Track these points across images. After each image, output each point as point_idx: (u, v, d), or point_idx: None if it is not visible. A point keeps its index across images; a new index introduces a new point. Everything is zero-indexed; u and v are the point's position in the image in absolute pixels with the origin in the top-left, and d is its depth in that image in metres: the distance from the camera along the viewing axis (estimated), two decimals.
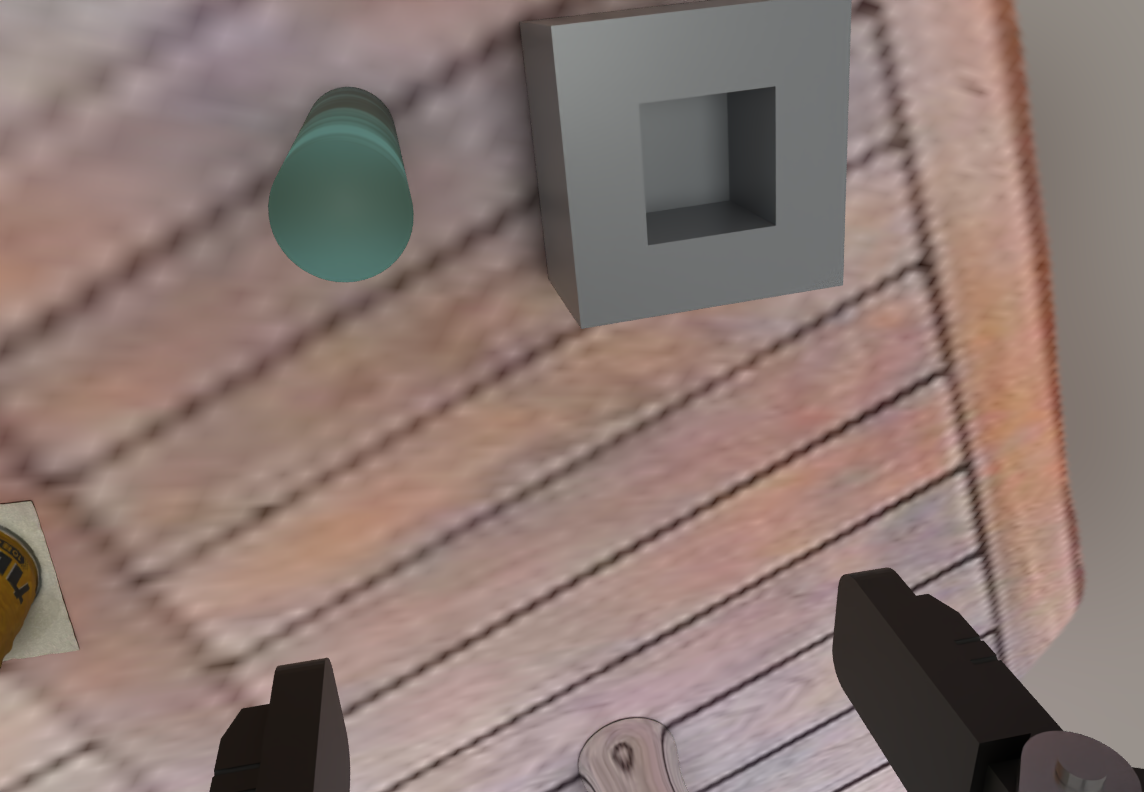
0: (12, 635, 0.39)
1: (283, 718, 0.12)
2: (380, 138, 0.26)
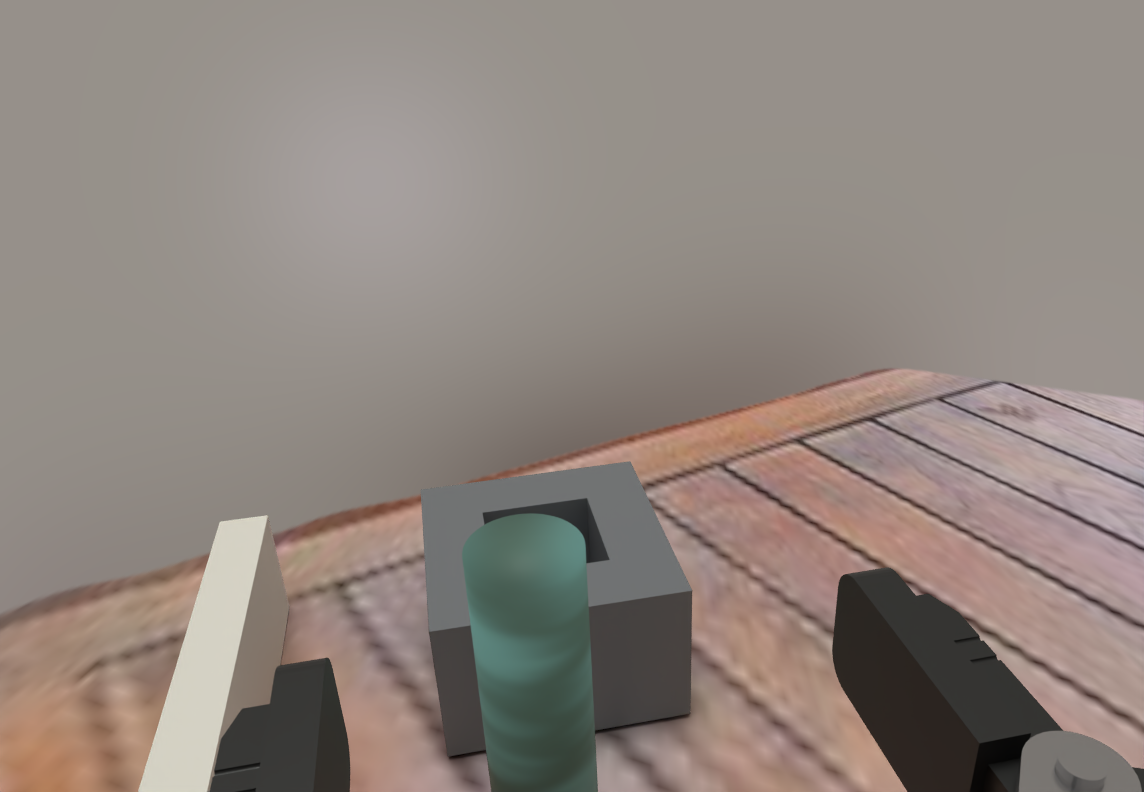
0: None
1: (283, 718, 0.12)
2: None
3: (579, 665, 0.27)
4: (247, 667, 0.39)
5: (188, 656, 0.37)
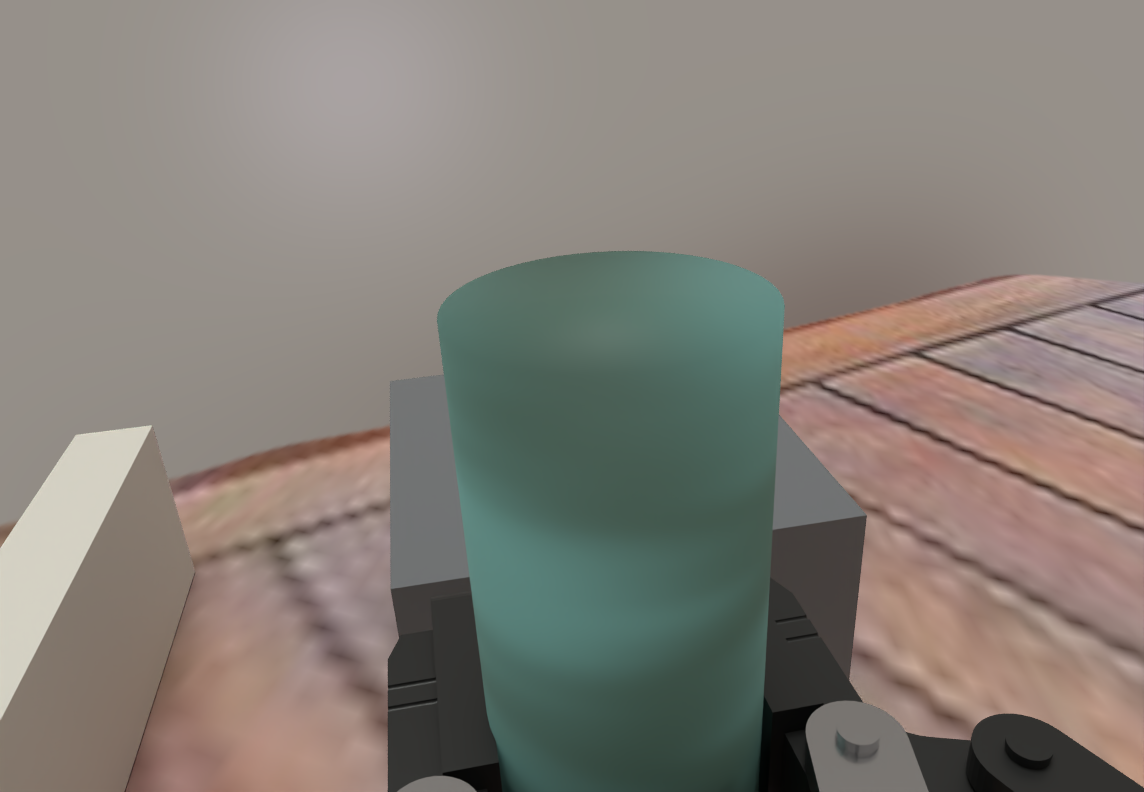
0: None
1: (448, 639, 0.13)
2: None
3: (754, 628, 0.10)
4: (75, 659, 0.22)
5: None
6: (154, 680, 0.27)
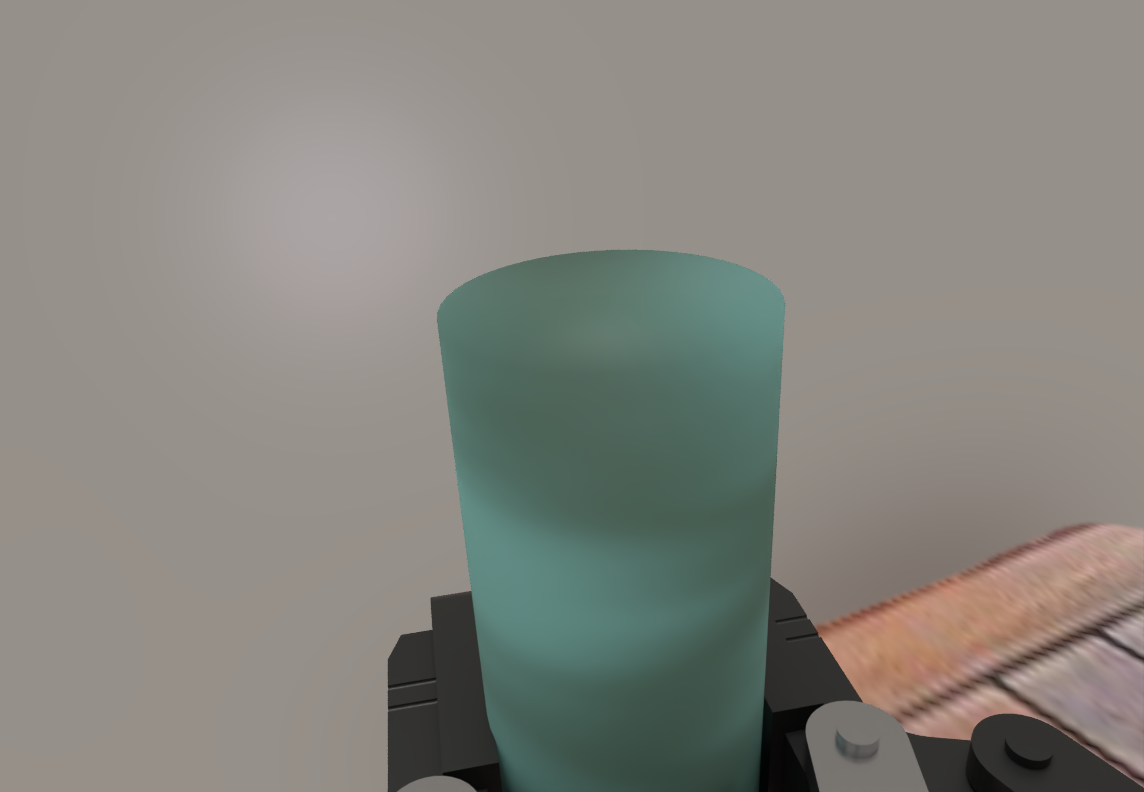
0: None
1: (448, 640, 0.13)
2: None
3: (753, 627, 0.10)
4: None
5: None
6: None
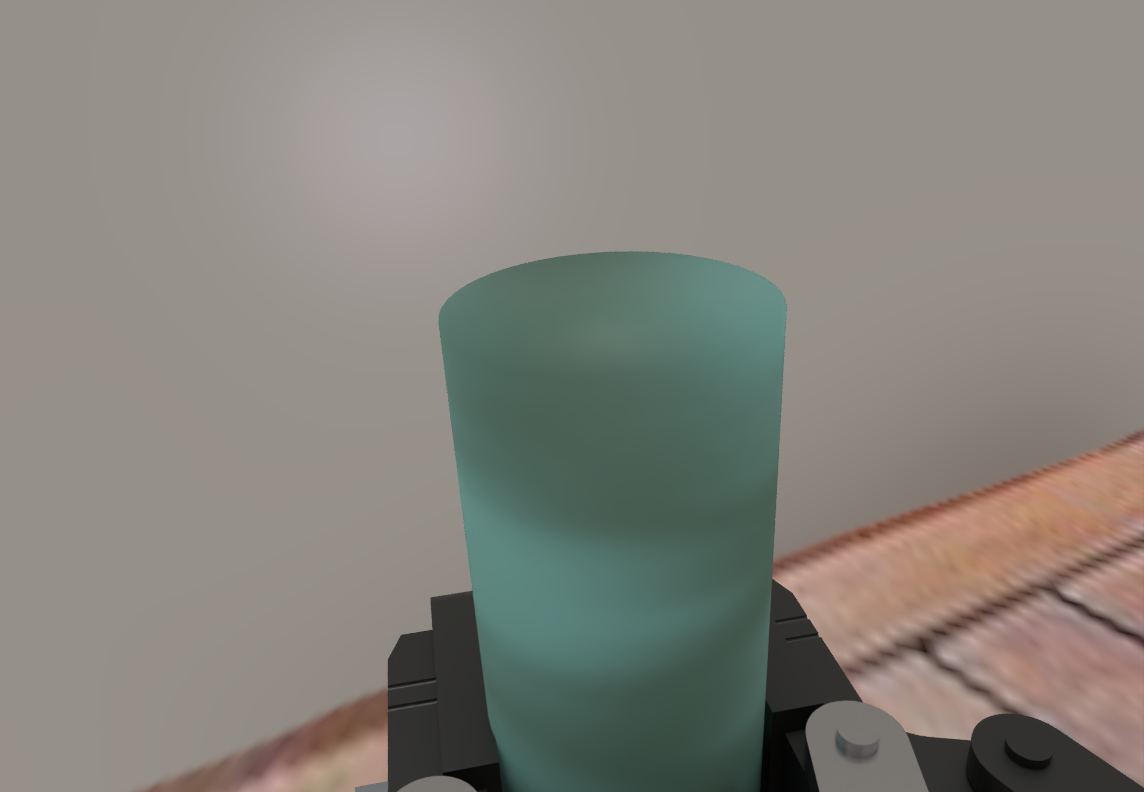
0: None
1: (448, 640, 0.13)
2: None
3: (756, 629, 0.10)
4: None
5: None
6: None
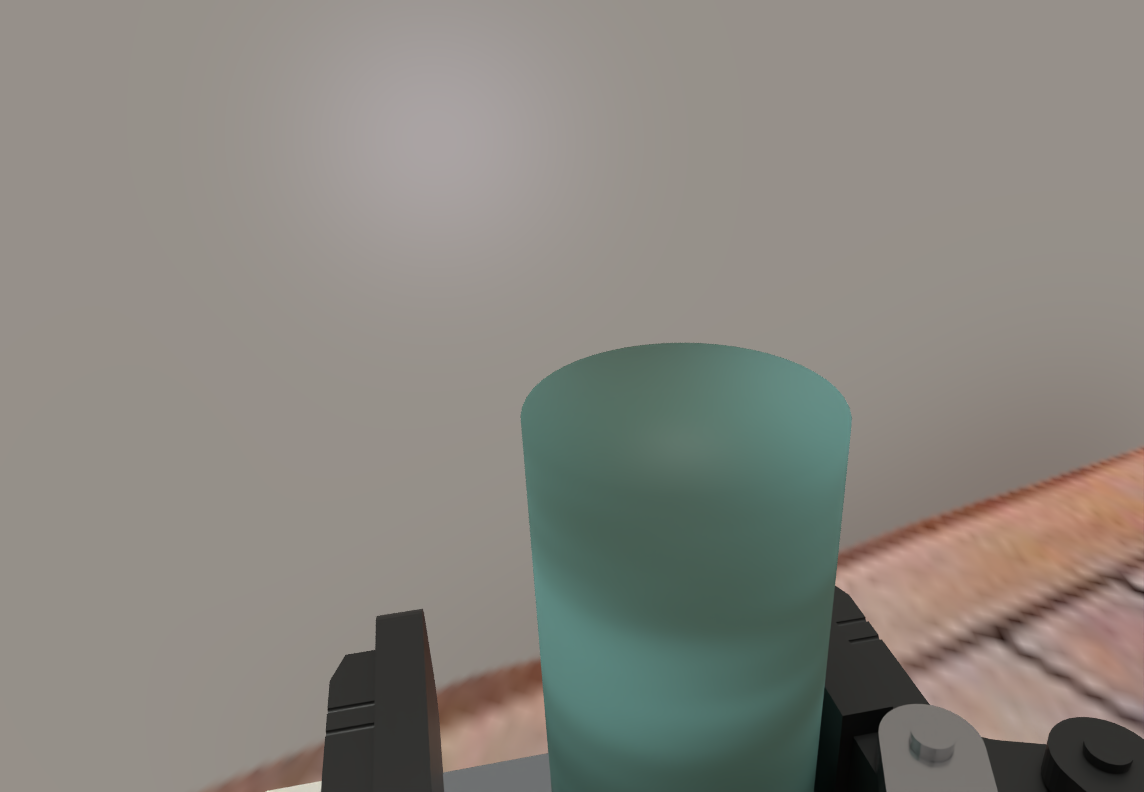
0: None
1: (390, 661, 0.13)
2: None
3: (812, 711, 0.11)
4: None
5: None
6: None
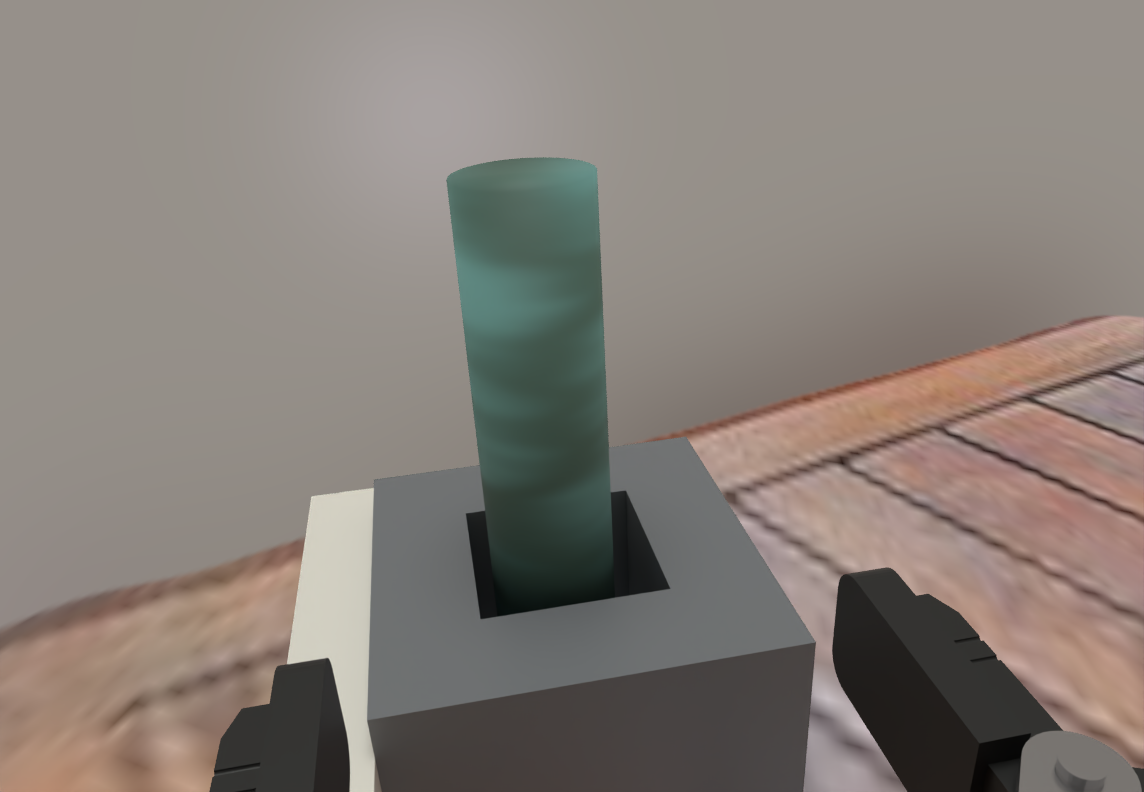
0: None
1: (283, 718, 0.12)
2: None
3: (589, 325, 0.22)
4: None
5: None
6: None
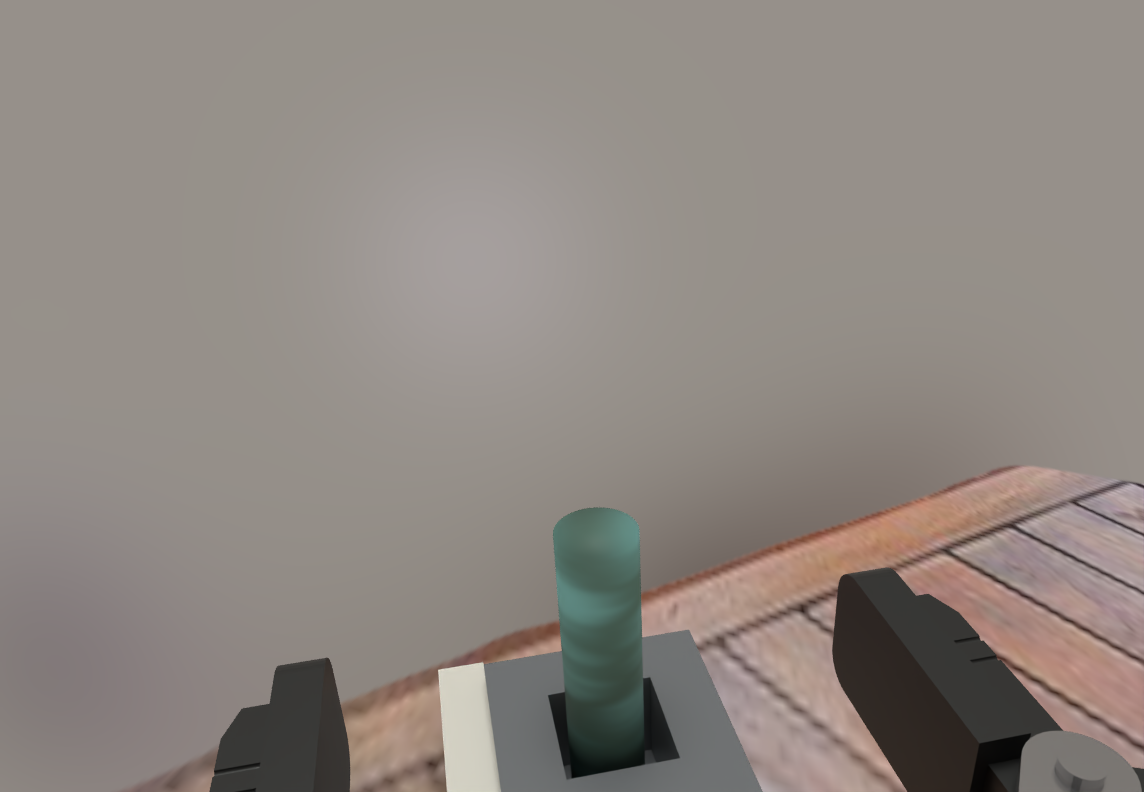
0: None
1: (283, 718, 0.12)
2: None
3: (633, 614, 0.38)
4: None
5: None
6: None
